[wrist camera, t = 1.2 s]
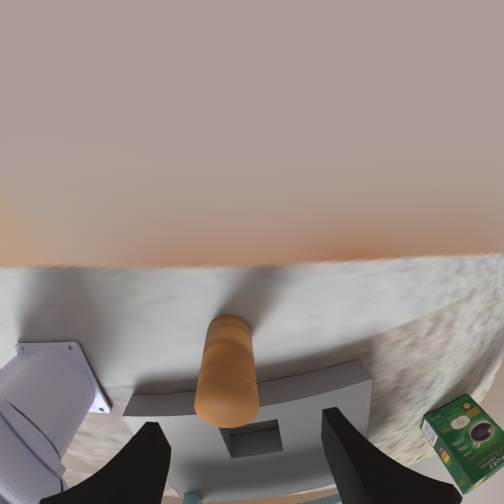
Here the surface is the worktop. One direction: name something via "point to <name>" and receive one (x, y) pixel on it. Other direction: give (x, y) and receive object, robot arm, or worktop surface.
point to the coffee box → (465, 441)
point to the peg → (227, 375)
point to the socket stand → (257, 437)
